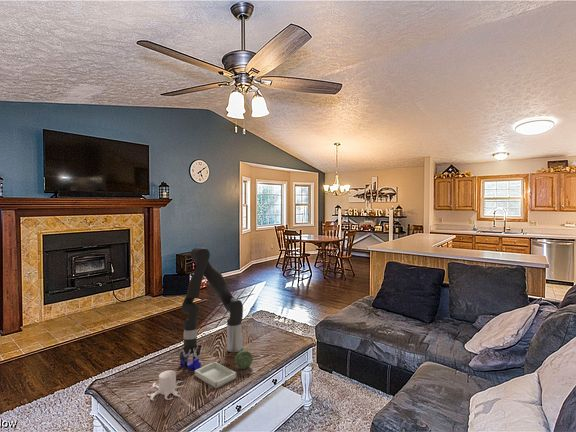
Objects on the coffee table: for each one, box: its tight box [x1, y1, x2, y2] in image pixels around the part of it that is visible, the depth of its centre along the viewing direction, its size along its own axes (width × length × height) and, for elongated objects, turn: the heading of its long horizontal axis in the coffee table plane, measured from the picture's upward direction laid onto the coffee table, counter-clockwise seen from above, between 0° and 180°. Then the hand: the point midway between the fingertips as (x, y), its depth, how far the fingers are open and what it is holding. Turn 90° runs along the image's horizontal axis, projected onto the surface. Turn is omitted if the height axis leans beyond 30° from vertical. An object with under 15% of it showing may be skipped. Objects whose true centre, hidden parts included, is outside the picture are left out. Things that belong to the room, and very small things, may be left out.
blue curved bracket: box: [179, 354, 202, 372], centre depth 185 cm, size 12×4×6 cm, turn 61°
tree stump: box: [147, 369, 185, 401], centre depth 162 cm, size 20×19×8 cm
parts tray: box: [194, 361, 238, 389], centre depth 173 cm, size 14×20×3 cm
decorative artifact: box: [234, 349, 254, 370], centre depth 181 cm, size 10×7×10 cm
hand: (190, 365), depth 185 cm, fingers closed on blue curved bracket, 5 cm apart
